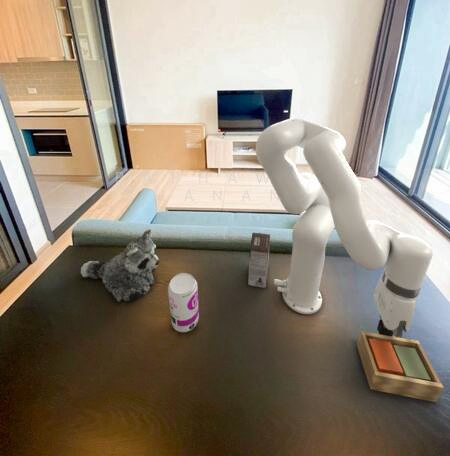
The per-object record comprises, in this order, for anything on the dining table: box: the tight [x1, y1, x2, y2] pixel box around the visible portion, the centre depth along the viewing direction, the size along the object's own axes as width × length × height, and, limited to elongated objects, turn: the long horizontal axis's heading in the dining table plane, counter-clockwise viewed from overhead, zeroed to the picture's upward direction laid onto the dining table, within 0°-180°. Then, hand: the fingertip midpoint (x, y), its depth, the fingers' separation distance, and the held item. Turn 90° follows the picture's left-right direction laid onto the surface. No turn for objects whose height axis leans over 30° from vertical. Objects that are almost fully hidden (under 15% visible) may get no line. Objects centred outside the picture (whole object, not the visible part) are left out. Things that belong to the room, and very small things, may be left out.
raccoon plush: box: [80, 228, 160, 303], centre depth 82 cm, size 15×32×21 cm, turn 89°
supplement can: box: [167, 272, 200, 333], centre depth 71 cm, size 8×8×15 cm
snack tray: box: [356, 330, 445, 403], centre depth 61 cm, size 14×10×6 cm
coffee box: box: [247, 232, 271, 289], centre depth 86 cm, size 9×6×16 cm
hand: (384, 333), depth 67 cm, fingers closed
